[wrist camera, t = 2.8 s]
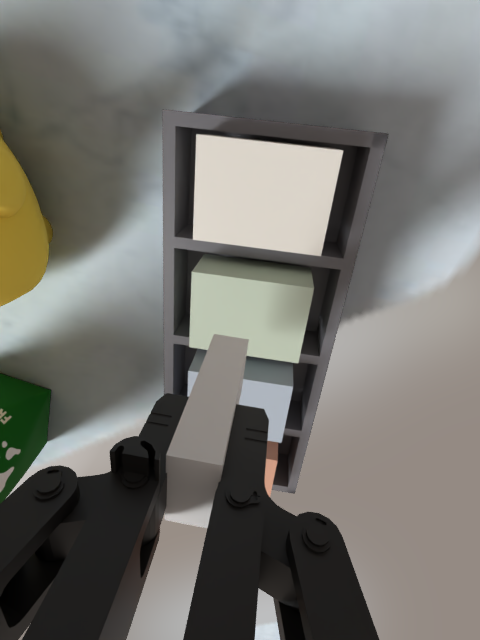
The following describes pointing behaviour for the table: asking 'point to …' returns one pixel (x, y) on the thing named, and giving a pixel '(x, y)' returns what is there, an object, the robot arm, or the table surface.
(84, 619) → the robot arm
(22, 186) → the teapot
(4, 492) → the milk carton
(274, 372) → the key
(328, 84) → the table surface
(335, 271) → the keypad base
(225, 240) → the key
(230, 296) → the key
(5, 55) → the table surface
